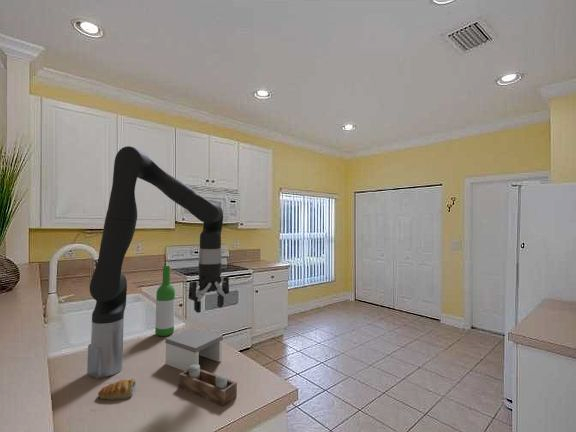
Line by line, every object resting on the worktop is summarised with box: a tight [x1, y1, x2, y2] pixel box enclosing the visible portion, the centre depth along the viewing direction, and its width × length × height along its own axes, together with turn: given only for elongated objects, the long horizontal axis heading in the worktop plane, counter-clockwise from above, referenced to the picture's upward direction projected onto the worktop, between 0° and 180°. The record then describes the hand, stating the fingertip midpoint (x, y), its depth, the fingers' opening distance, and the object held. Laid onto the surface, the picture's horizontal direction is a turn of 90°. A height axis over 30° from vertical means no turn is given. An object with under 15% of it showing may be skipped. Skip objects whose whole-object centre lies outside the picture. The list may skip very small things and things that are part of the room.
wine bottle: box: [154, 265, 176, 337], centre depth 135 cm, size 8×8×30 cm
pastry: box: [97, 377, 137, 401], centre depth 88 cm, size 9×7×4 cm
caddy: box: [178, 364, 238, 407], centre depth 90 cm, size 18×6×6 cm, turn 60°
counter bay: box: [164, 327, 224, 372], centre depth 108 cm, size 13×15×9 cm
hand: (209, 309), depth 102 cm, fingers open, 8 cm apart
